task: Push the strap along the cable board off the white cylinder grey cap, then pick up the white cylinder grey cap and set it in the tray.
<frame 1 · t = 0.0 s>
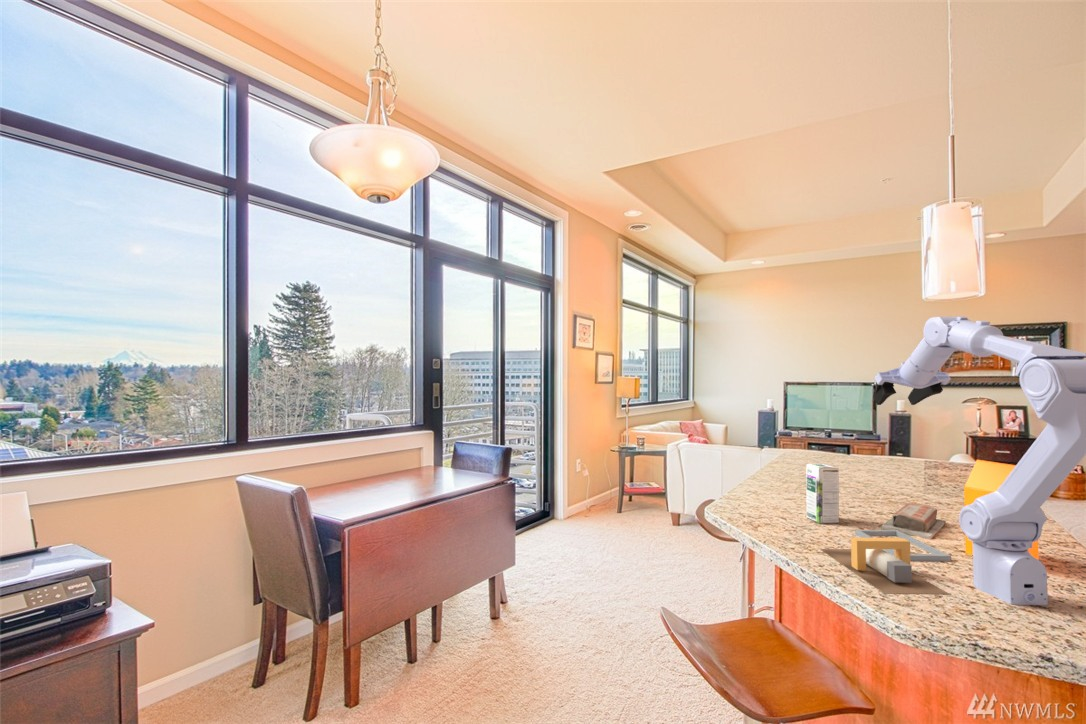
hand: (893, 401, 117), 32 cm above the countertop, tool tilted 50°, fingers open, 7 cm apart
strap: (880, 553, 97), point 4 cm above the countertop, slide at 0.0 cm
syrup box: (822, 521, 134), on the countertop
packaged product: (914, 529, 128), on the countertop
cable board: (877, 574, 98), on the countertop
tray: (899, 551, 110), on the countertop
white cylinder grey cap: (880, 571, 97), point 1 cm above the countertop, touching cable board
orange juice: (1001, 559, 106), on the countertop
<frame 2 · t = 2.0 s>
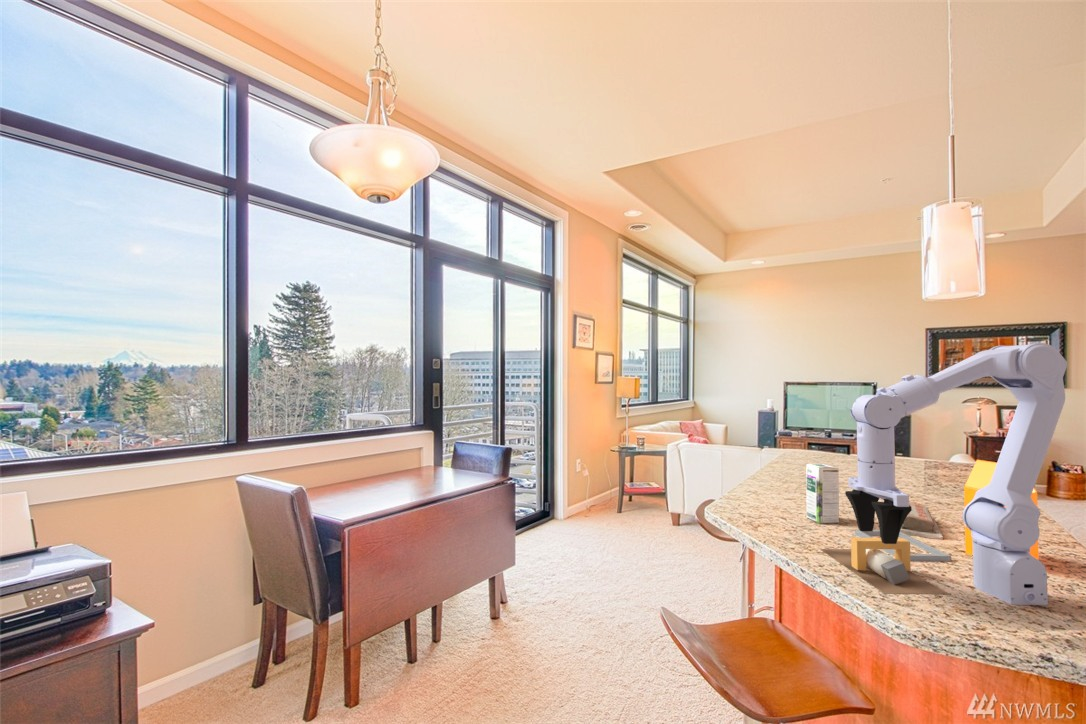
hand: (877, 536, 91), 9 cm above the countertop, tool pointing down, fingers open, 6 cm apart
white cylinder grey cap: (880, 570, 97), point 1 cm above the countertop, tilted 21°, touching cable board
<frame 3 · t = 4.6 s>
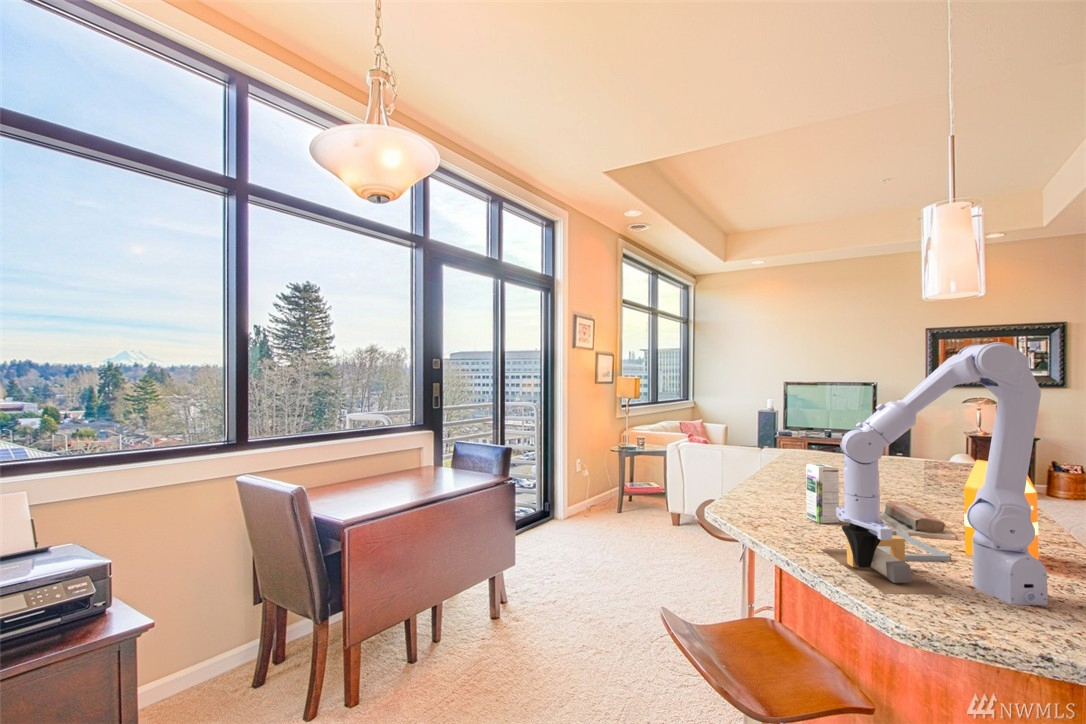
hand: (862, 566, 96), 2 cm above the countertop, tool pointing down, fingers closed
strap: (875, 551, 99), point 4 cm above the countertop, slide at 1.6 cm, touching gripper
white cylinder grey cap: (880, 571, 97), point 1 cm above the countertop, touching cable board
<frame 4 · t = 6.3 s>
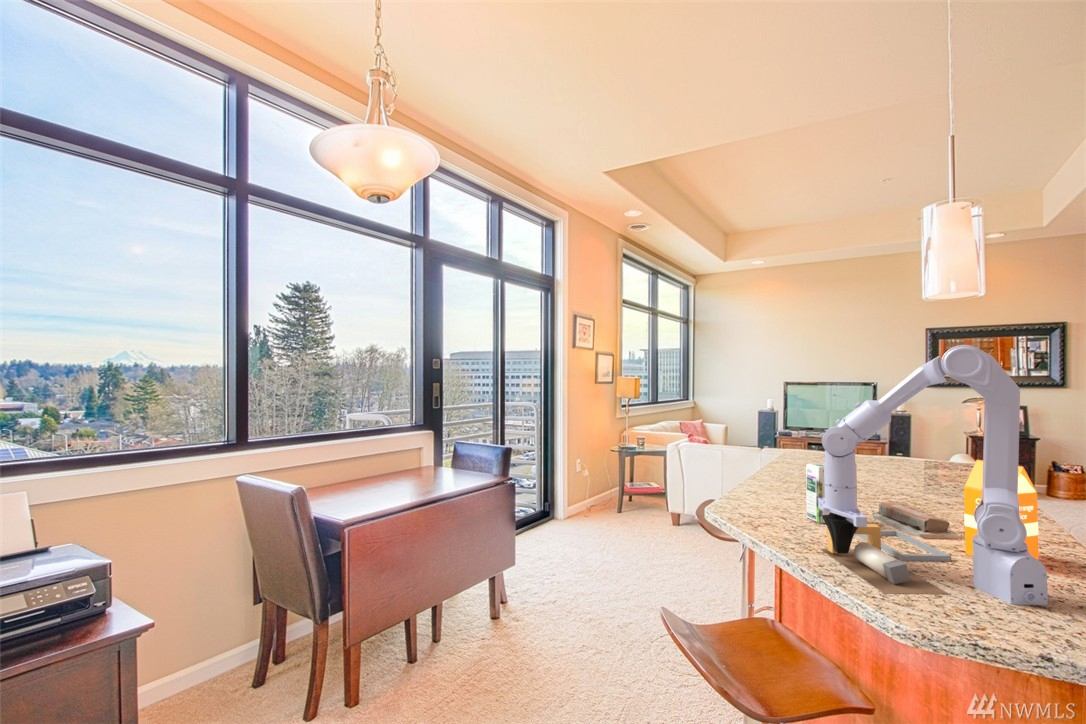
hand: (841, 552, 103), 2 cm above the countertop, tool pointing down, fingers closed
strap: (853, 538, 106), point 4 cm above the countertop, slide at 9.0 cm, touching gripper
white cylinder grey cap: (880, 570, 97), point 1 cm above the countertop, tilted 15°, touching cable board
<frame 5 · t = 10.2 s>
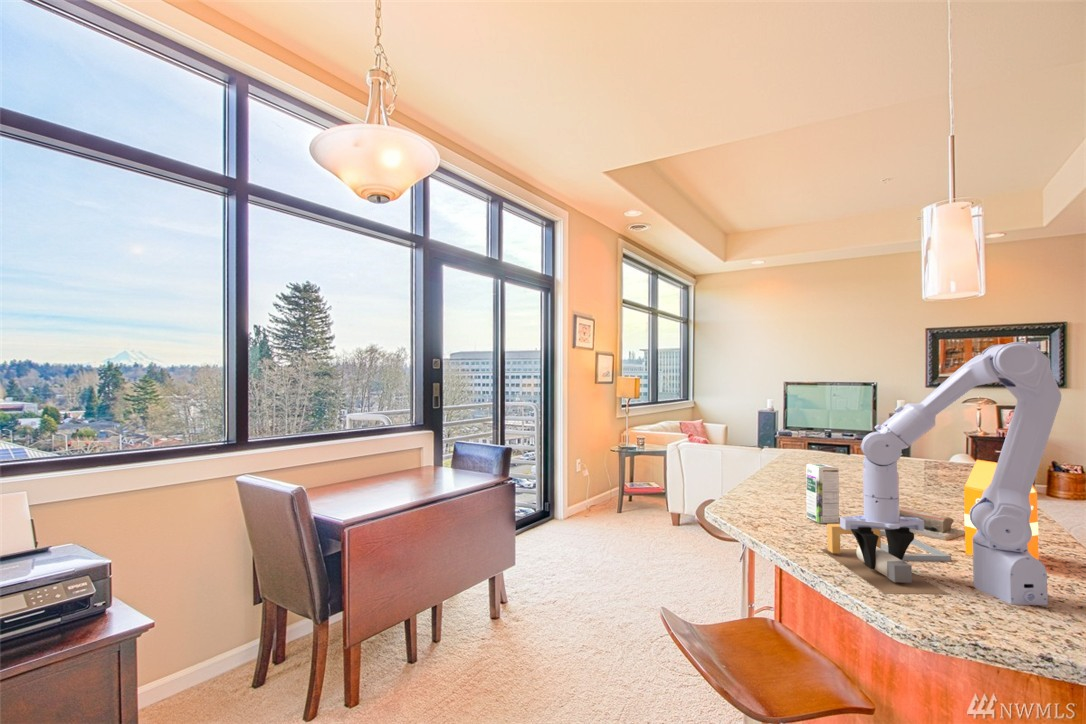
hand: (882, 567, 97), 2 cm above the countertop, tool pointing down, fingers closed on white cylinder grey cap, 4 cm apart
strap: (853, 538, 106), point 4 cm above the countertop, slide at 9.0 cm
white cylinder grey cap: (880, 571, 97), point 1 cm above the countertop, touching cable board, gripper
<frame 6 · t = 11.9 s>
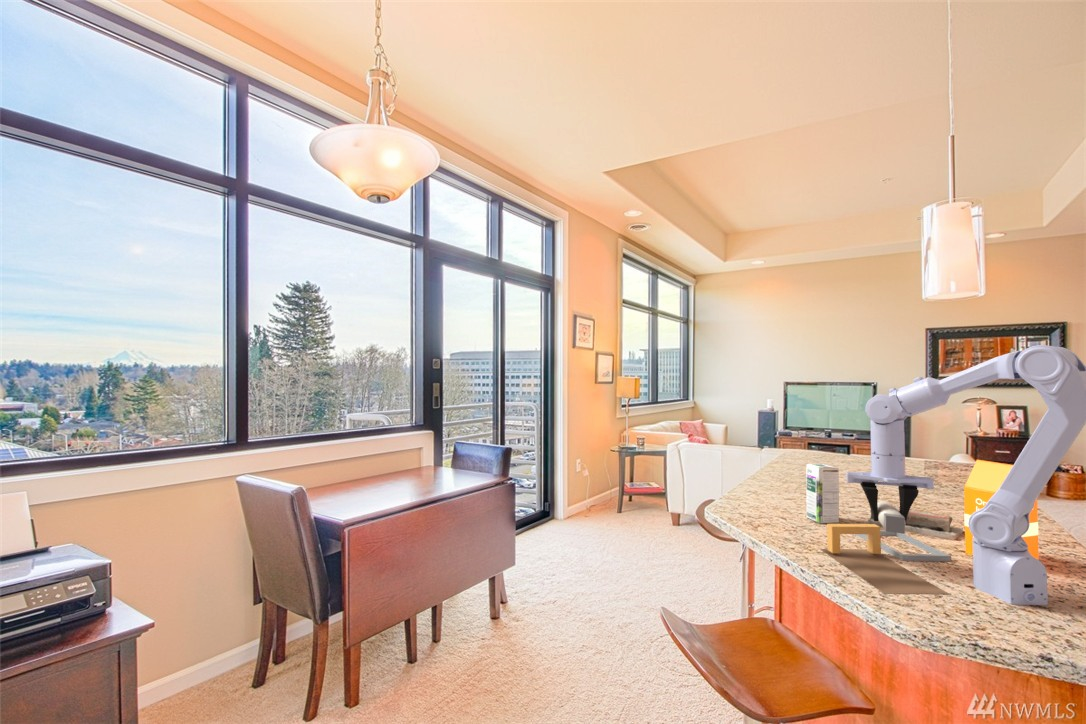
hand: (888, 521, 102), 9 cm above the countertop, tool pointing down, fingers closed on white cylinder grey cap, 4 cm apart
white cylinder grey cap: (888, 525, 103), point 8 cm above the countertop, touching gripper
when the fingers open (3 cm above the countertop, at t = 14.0 s): white cylinder grey cap stays where it is, resting on tray.
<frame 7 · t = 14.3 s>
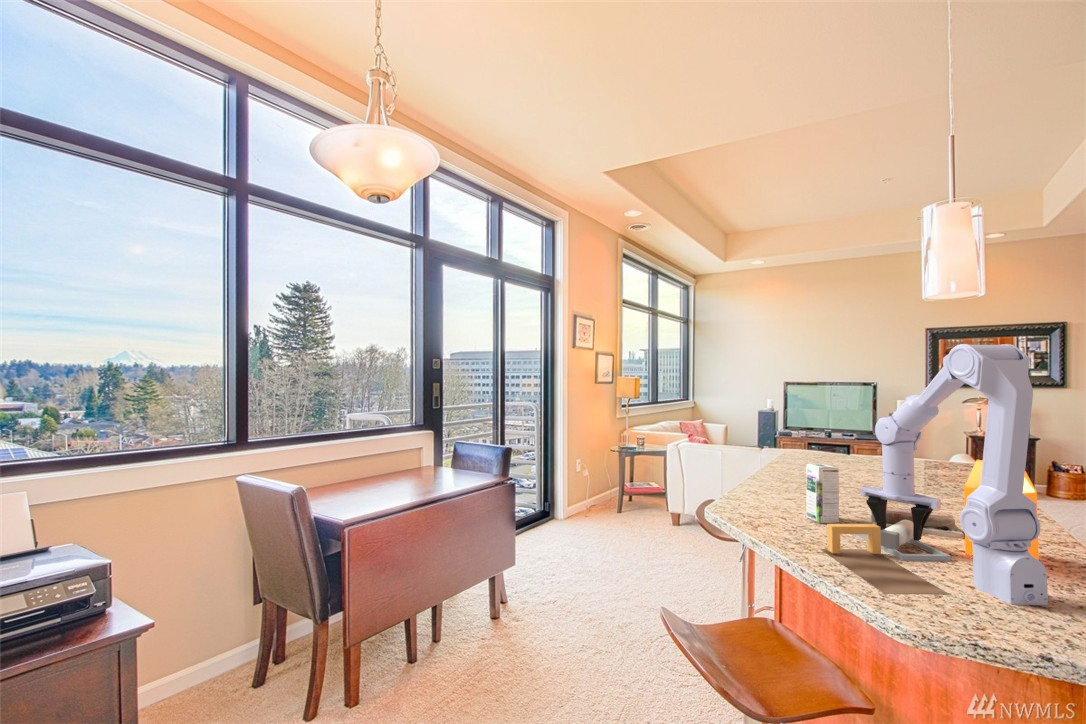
hand: (899, 535, 111), 3 cm above the countertop, tool pointing down, fingers open, 6 cm apart
white cylinder grey cap: (899, 542, 111), point 2 cm above the countertop, touching tray
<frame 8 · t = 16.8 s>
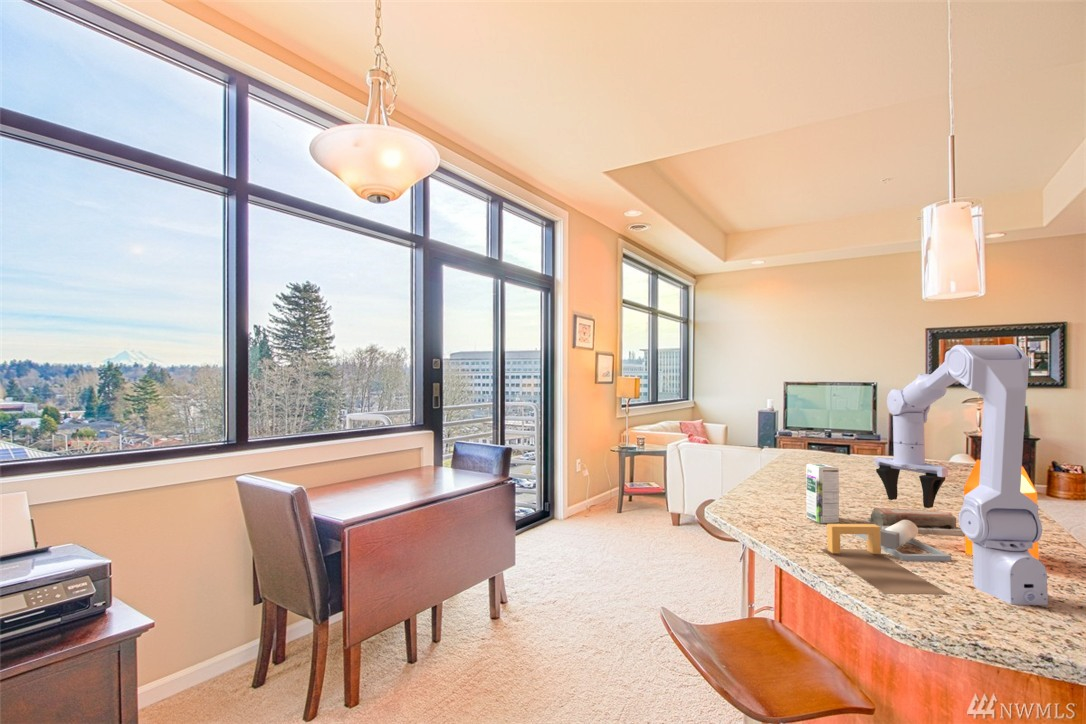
hand: (909, 503, 114), 9 cm above the countertop, tool pointing down, fingers open, 7 cm apart
at the end: strap slide at 9.0 cm; white cylinder grey cap 0.3 cm off-centre on the tray, point 1.8 cm above the tray's base; the gripper is holding nothing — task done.
